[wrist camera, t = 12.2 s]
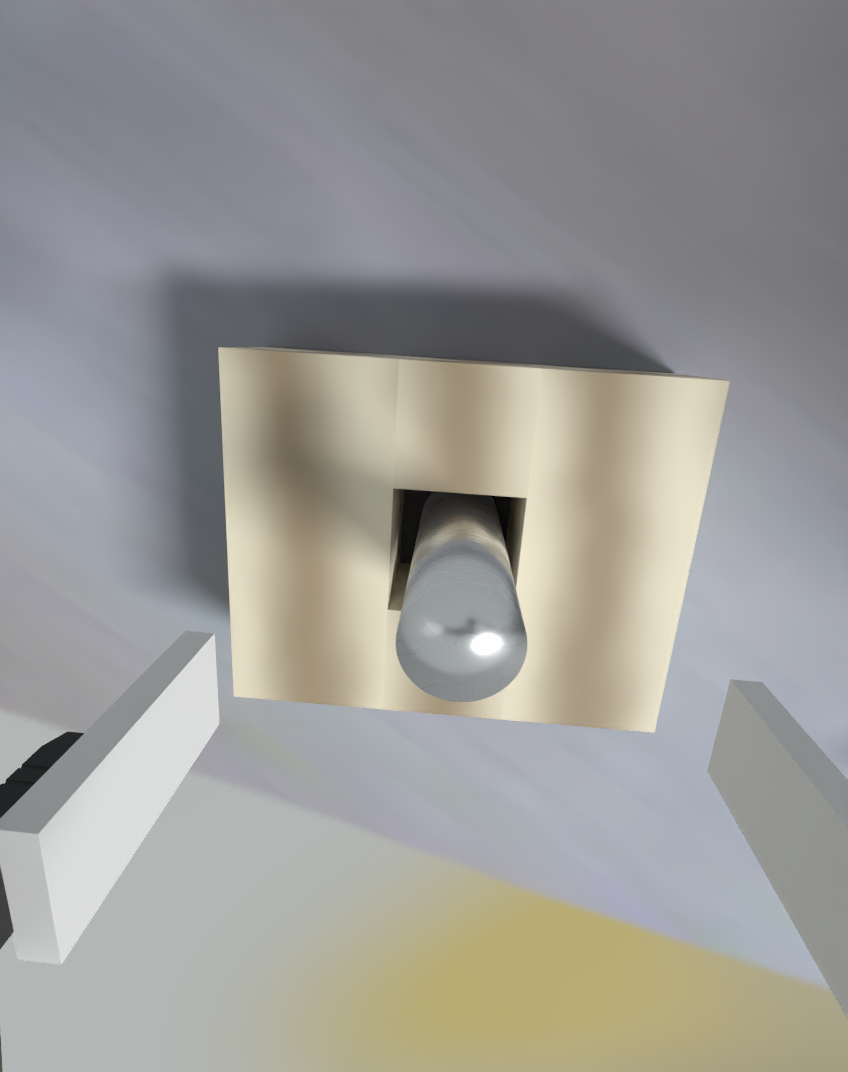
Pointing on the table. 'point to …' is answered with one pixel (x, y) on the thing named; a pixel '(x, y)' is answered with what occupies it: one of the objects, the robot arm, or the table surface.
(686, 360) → the table surface
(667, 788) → the table surface
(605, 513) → the block
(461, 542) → the steel pin
